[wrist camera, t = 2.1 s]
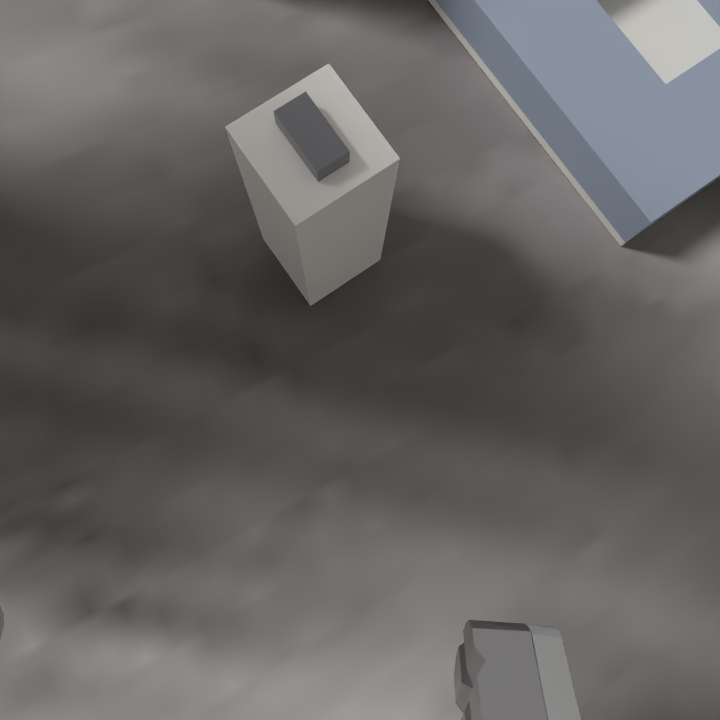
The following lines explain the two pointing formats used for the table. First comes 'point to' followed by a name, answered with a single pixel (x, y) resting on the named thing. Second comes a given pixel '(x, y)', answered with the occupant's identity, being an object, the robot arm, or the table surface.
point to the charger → (317, 181)
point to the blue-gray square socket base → (608, 93)
